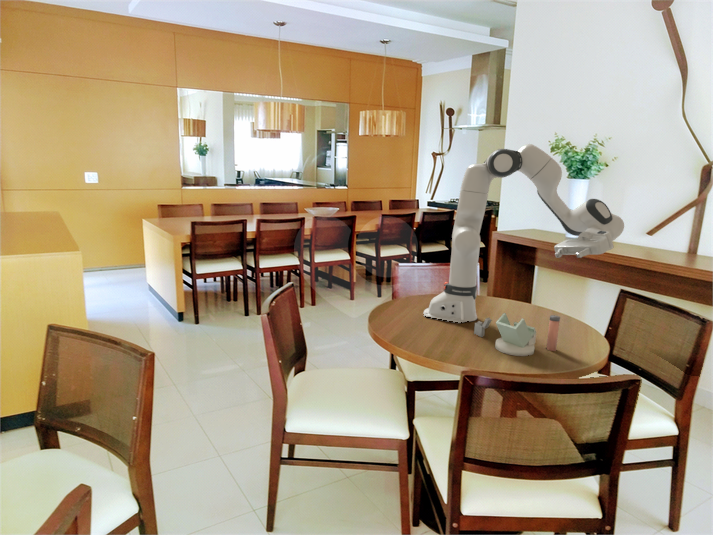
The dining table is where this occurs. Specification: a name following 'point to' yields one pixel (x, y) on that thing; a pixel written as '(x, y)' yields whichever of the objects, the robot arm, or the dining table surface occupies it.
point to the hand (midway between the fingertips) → (567, 255)
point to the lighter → (481, 327)
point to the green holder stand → (515, 337)
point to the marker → (553, 333)
